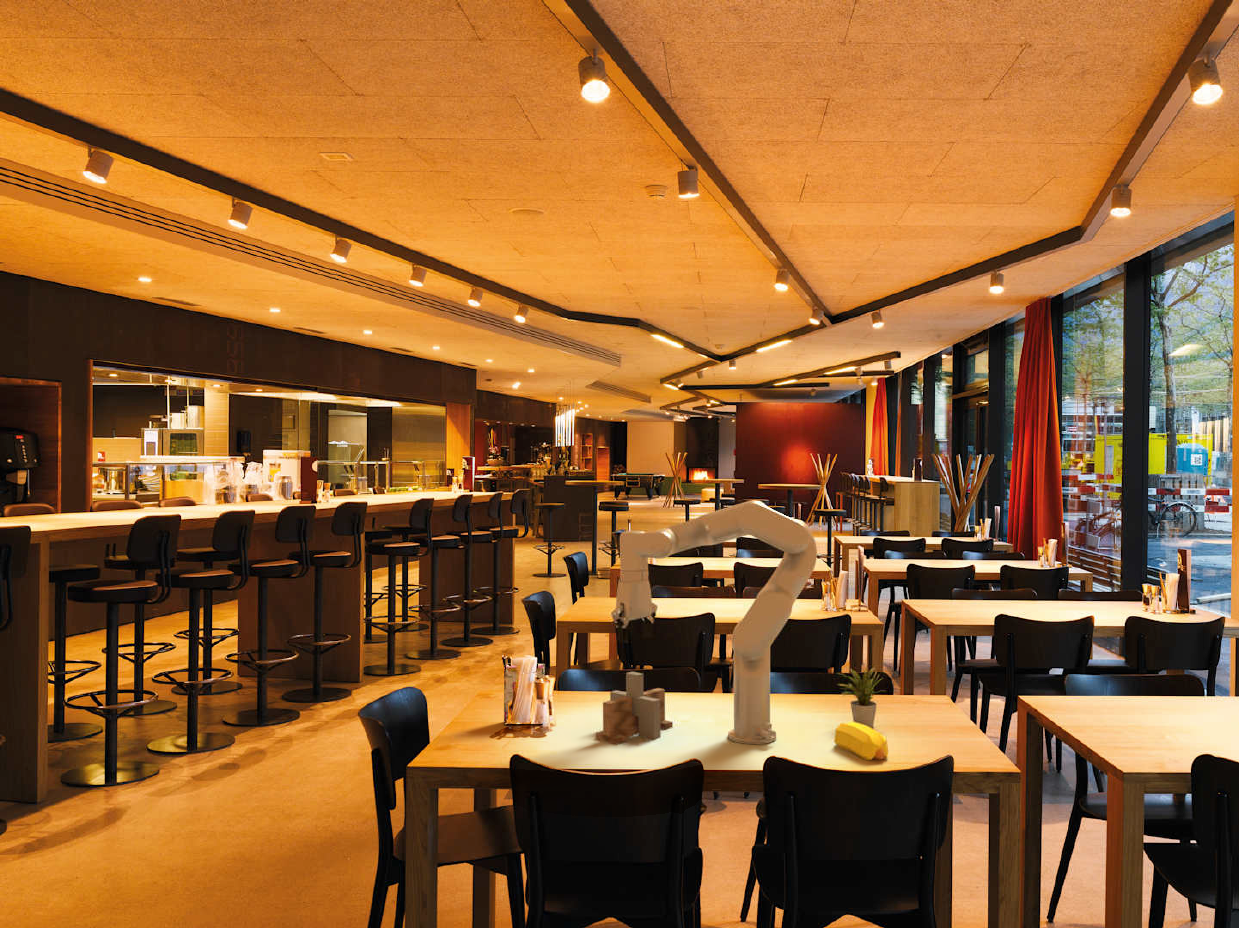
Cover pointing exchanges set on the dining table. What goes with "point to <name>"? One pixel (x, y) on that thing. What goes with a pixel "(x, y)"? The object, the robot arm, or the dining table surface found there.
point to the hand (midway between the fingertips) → (635, 639)
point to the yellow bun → (861, 740)
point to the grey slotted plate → (641, 705)
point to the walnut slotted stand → (627, 717)
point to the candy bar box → (511, 683)
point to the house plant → (863, 698)
